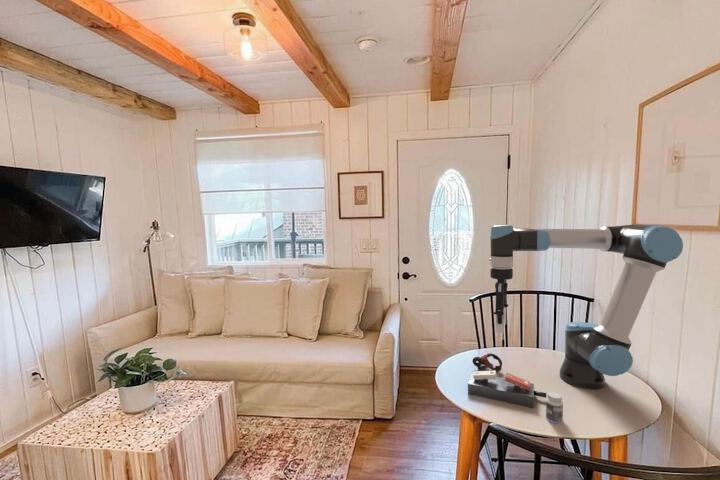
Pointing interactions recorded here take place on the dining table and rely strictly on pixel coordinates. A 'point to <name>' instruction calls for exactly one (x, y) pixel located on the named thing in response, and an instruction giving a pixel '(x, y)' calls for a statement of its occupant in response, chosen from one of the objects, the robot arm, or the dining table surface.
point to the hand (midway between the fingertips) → (501, 327)
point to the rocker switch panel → (503, 391)
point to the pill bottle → (554, 407)
